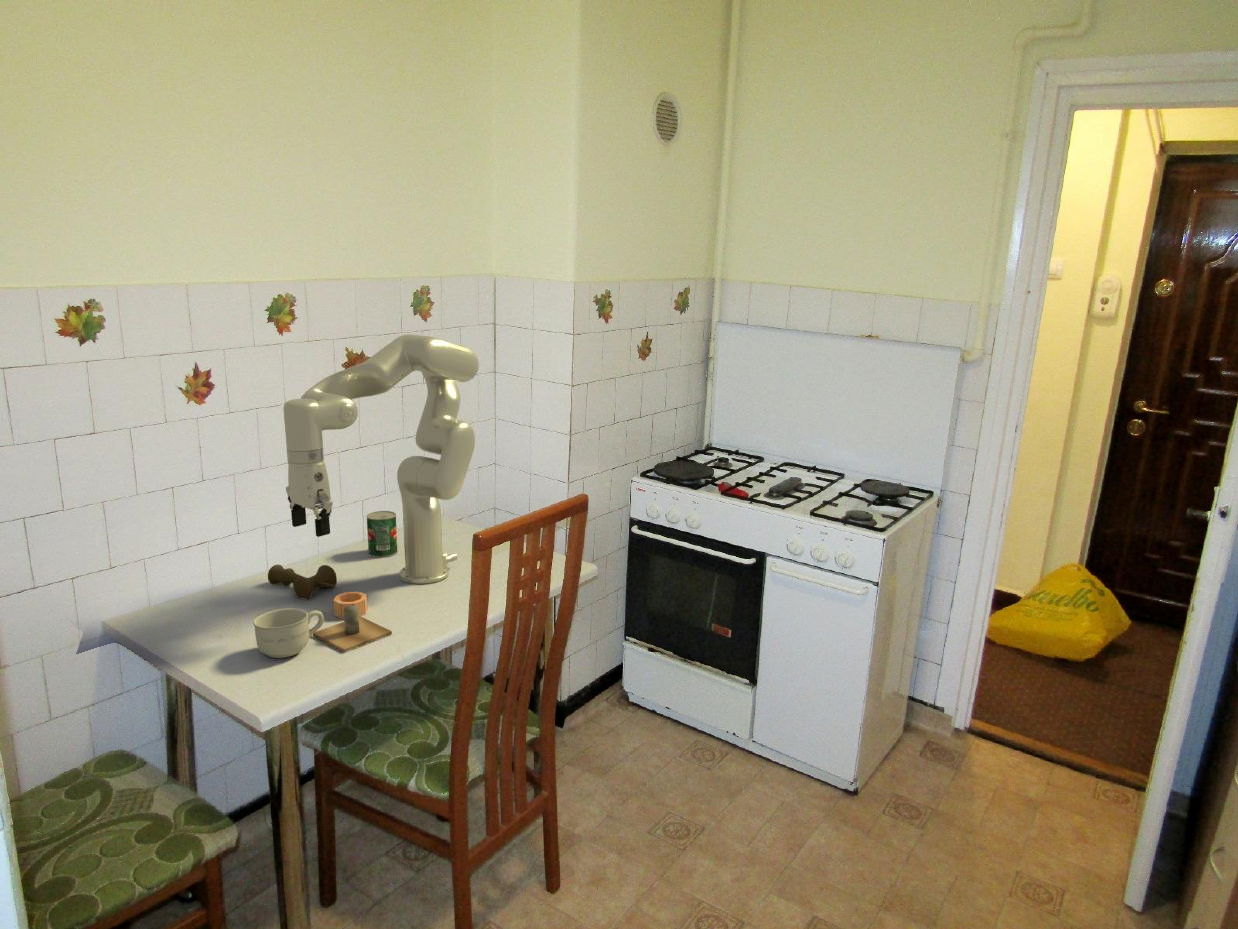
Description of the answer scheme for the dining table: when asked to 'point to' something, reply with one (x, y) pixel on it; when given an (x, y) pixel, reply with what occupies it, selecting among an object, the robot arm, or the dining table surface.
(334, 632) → the post plate
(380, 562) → the dining table surface
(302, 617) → the teacup
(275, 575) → the kendama
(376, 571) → the dining table surface
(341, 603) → the ring
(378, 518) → the canned tomato
